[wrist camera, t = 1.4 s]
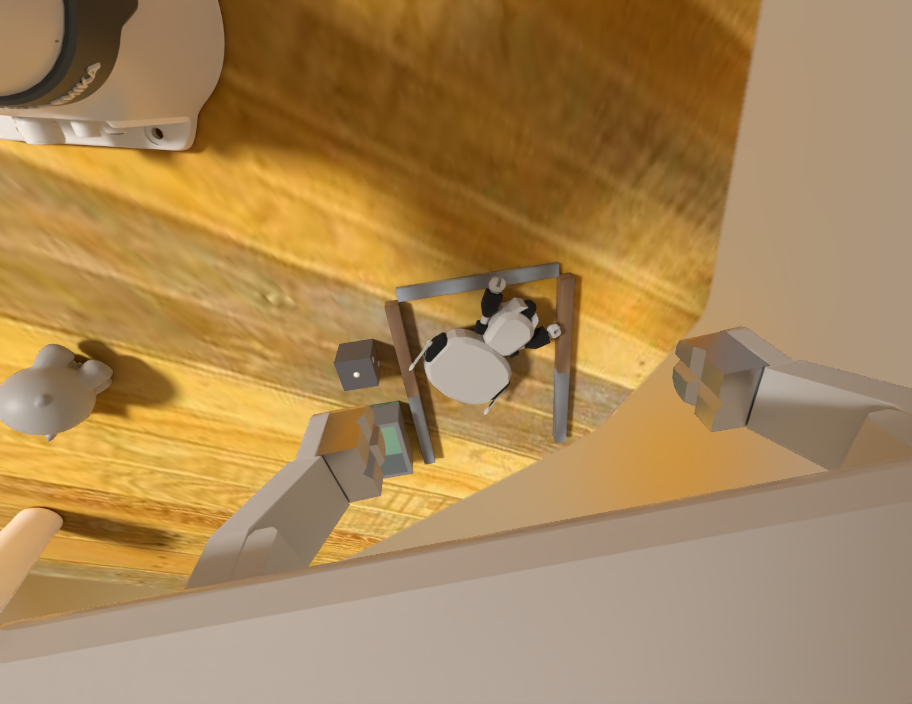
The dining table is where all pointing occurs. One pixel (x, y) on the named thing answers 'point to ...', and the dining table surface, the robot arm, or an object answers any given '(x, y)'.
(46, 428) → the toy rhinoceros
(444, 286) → the track
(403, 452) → the tray
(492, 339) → the robot toy
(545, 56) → the dining table surface
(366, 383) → the die
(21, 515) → the drinking glass
